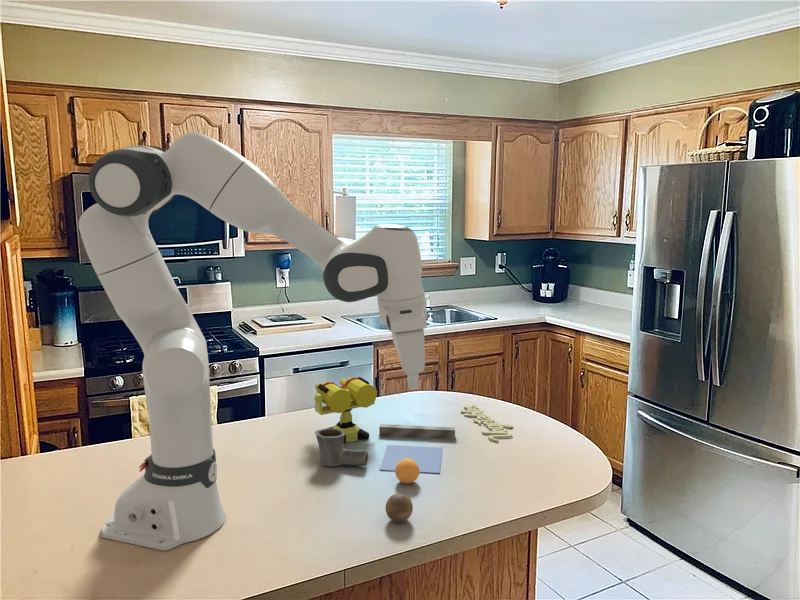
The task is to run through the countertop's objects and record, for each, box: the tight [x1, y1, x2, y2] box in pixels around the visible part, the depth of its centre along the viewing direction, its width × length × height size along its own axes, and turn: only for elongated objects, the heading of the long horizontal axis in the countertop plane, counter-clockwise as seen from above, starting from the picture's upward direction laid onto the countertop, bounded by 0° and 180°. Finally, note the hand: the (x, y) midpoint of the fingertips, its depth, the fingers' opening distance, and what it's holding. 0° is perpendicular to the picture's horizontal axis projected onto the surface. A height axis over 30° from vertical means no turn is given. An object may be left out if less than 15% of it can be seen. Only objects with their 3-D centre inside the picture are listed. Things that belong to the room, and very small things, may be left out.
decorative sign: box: [460, 404, 514, 443], centre depth 171 cm, size 26×1×10 cm
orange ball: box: [394, 458, 420, 485], centre depth 135 cm, size 5×5×5 cm
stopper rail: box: [378, 423, 456, 440], centre depth 161 cm, size 20×2×2 cm, turn 84°
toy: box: [313, 376, 377, 445], centre depth 161 cm, size 17×14×15 cm
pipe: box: [314, 427, 369, 468], centre depth 144 cm, size 6×13×8 cm, turn 78°
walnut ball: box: [385, 492, 414, 523], centre depth 120 cm, size 5×5×5 cm
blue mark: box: [379, 444, 443, 475], centre depth 147 cm, size 14×14×1 cm
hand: (410, 379), depth 116 cm, fingers open, 8 cm apart
